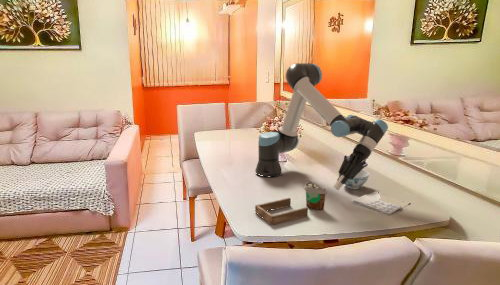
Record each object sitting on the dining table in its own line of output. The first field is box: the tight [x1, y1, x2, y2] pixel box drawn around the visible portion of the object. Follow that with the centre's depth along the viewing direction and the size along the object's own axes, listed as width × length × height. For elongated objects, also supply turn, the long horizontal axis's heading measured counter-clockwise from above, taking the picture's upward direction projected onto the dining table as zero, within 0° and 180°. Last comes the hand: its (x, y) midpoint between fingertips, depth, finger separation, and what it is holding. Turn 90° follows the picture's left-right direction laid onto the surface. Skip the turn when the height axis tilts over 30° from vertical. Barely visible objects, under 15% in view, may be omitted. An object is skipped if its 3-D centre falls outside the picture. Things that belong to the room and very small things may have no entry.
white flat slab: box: [351, 190, 402, 216], centre depth 156 cm, size 19×20×2 cm
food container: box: [303, 180, 327, 211], centre depth 151 cm, size 12×6×10 cm, turn 23°
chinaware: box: [338, 169, 370, 190], centre depth 176 cm, size 15×15×8 cm
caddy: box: [254, 197, 309, 226], centre depth 144 cm, size 13×18×4 cm
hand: (336, 188), depth 156 cm, fingers closed
